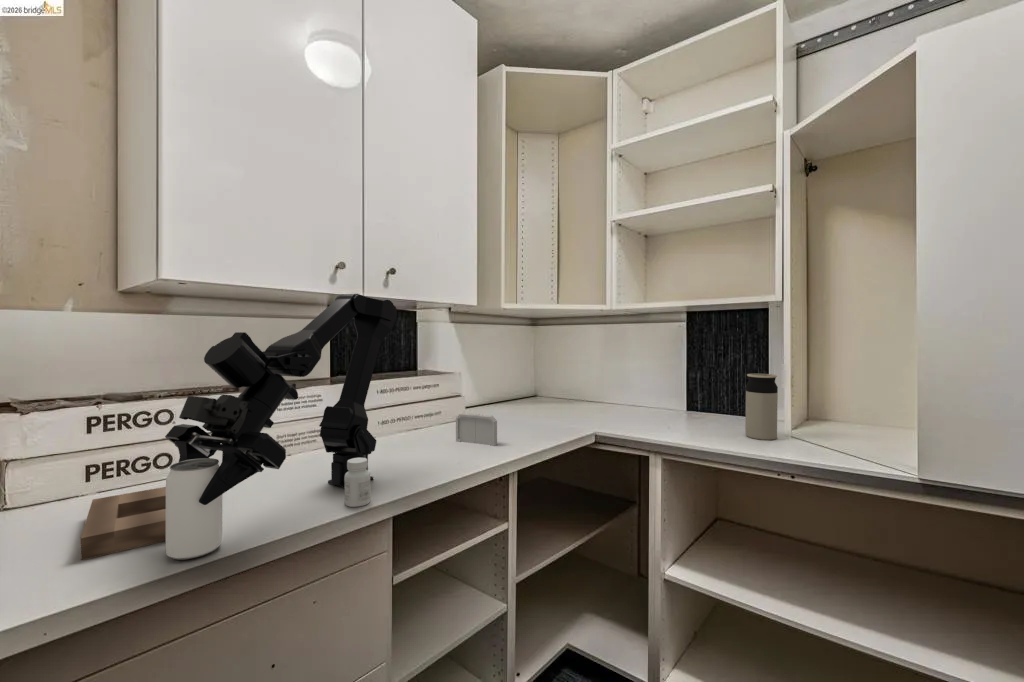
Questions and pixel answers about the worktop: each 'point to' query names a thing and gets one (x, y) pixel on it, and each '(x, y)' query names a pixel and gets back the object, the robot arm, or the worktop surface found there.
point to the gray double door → (476, 429)
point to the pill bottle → (357, 483)
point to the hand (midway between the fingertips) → (185, 500)
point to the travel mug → (761, 407)
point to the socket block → (124, 522)
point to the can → (192, 510)
